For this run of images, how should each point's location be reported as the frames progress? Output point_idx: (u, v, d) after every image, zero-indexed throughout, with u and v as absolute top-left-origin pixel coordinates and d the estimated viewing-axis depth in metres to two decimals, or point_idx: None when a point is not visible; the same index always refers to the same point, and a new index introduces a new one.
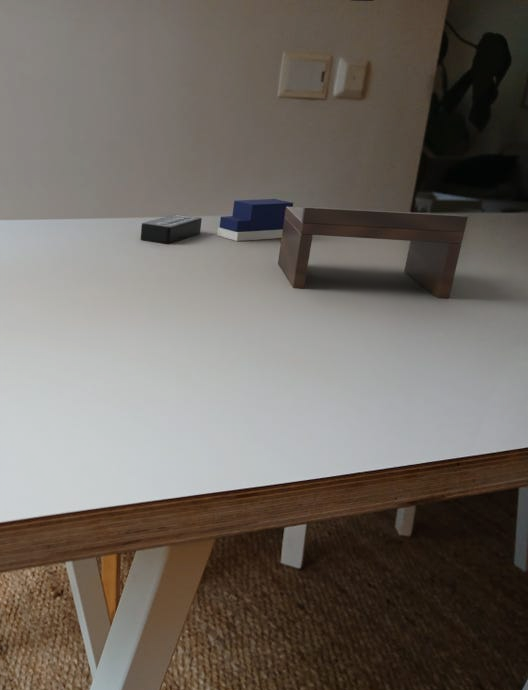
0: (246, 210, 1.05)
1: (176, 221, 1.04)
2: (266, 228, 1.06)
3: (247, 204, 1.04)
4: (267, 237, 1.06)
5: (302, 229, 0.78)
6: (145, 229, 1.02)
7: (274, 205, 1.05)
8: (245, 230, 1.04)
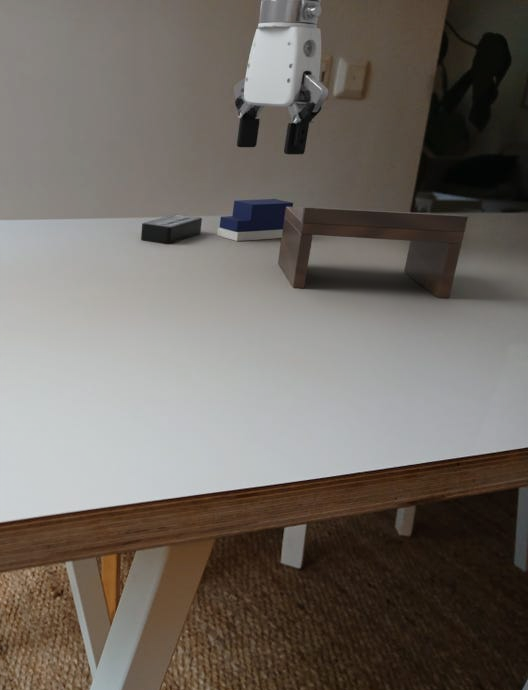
0: (246, 210, 1.05)
1: (176, 221, 1.04)
2: (266, 228, 1.06)
3: (247, 204, 1.04)
4: (267, 237, 1.06)
5: (302, 229, 0.78)
6: (145, 229, 1.02)
7: (274, 205, 1.05)
8: (245, 230, 1.04)
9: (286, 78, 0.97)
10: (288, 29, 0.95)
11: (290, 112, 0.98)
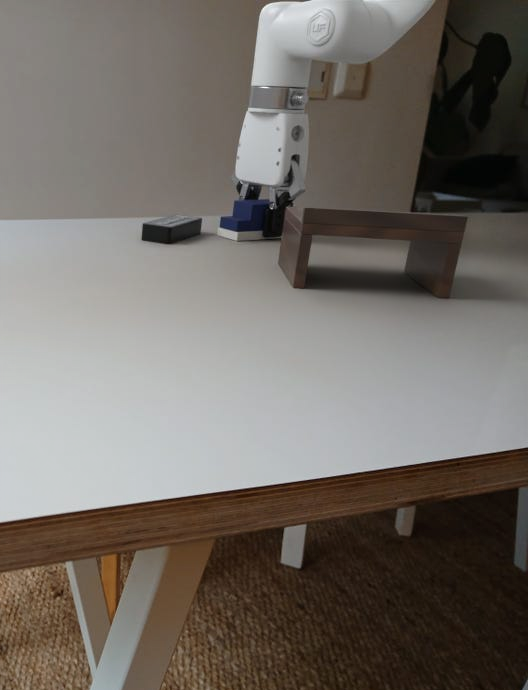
0: (246, 210, 1.05)
1: (177, 221, 1.04)
2: None
3: (247, 204, 1.04)
4: None
5: (302, 229, 0.78)
6: (146, 229, 1.02)
7: None
8: (245, 230, 1.04)
9: (275, 161, 1.01)
10: (277, 115, 0.99)
11: (270, 196, 1.04)
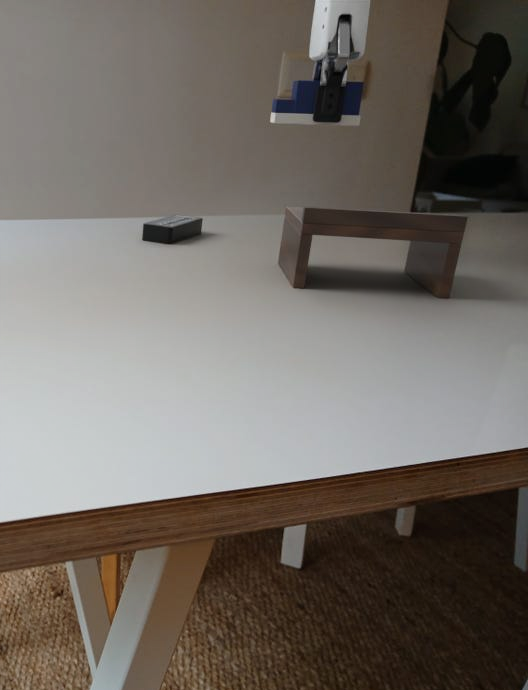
0: (295, 89, 0.90)
1: (177, 221, 1.04)
2: None
3: (296, 81, 0.90)
4: (321, 122, 0.90)
5: (302, 229, 0.78)
6: (146, 230, 1.02)
7: None
8: (288, 111, 0.90)
9: (322, 25, 0.85)
10: None
11: (321, 71, 0.88)
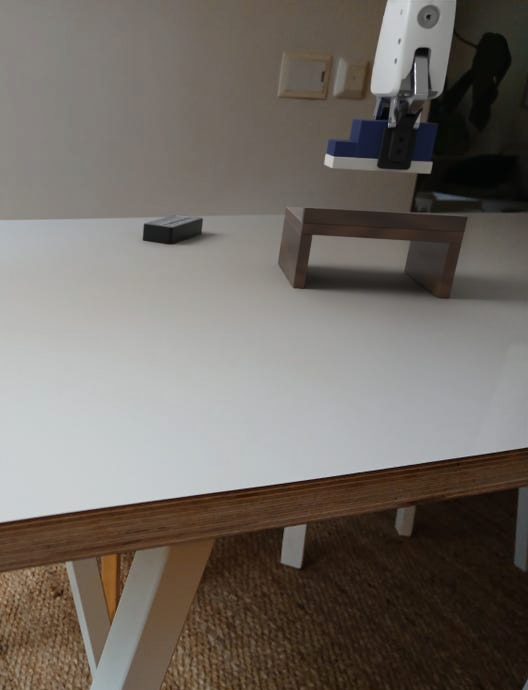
0: (357, 129, 0.78)
1: (178, 221, 1.04)
2: None
3: (359, 121, 0.78)
4: (386, 169, 0.78)
5: (302, 229, 0.78)
6: (147, 230, 1.02)
7: None
8: (349, 155, 0.78)
9: (394, 59, 0.73)
10: None
11: (390, 110, 0.76)
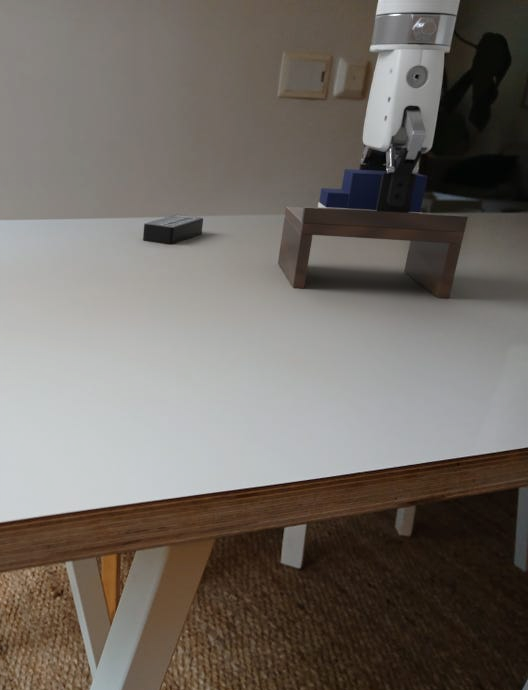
0: (348, 180, 0.80)
1: (178, 221, 1.04)
2: None
3: (350, 173, 0.80)
4: None
5: (302, 229, 0.78)
6: (147, 230, 1.02)
7: None
8: (341, 206, 0.80)
9: (384, 116, 0.75)
10: (393, 52, 0.74)
11: (387, 159, 0.76)
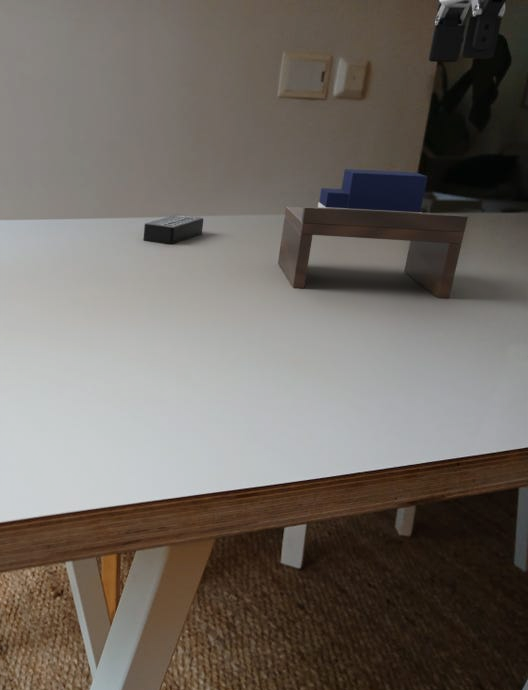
0: (348, 180, 0.80)
1: (179, 221, 1.04)
2: (377, 207, 0.80)
3: (350, 173, 0.80)
4: None
5: (302, 229, 0.78)
6: (148, 230, 1.02)
7: (392, 176, 0.78)
8: (341, 206, 0.80)
9: None
10: None
11: (472, 3, 0.78)
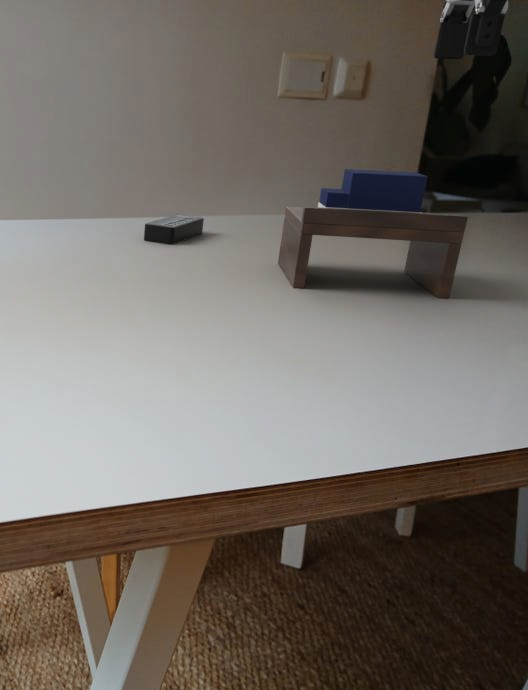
0: (348, 180, 0.80)
1: (179, 221, 1.04)
2: (377, 207, 0.80)
3: (350, 173, 0.80)
4: None
5: (302, 229, 0.78)
6: (148, 230, 1.01)
7: (392, 176, 0.78)
8: (341, 206, 0.80)
9: None
10: None
11: (475, 1, 0.79)
